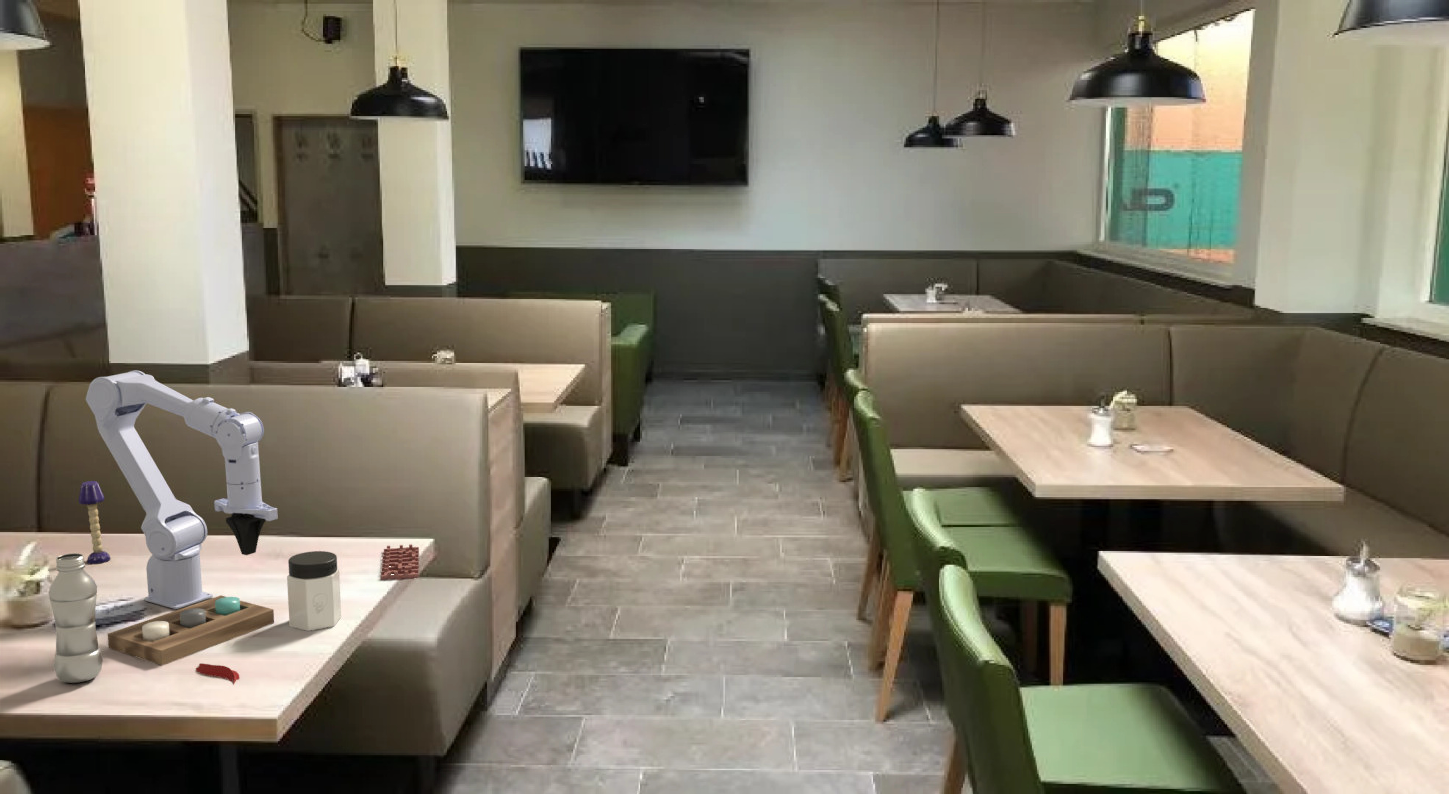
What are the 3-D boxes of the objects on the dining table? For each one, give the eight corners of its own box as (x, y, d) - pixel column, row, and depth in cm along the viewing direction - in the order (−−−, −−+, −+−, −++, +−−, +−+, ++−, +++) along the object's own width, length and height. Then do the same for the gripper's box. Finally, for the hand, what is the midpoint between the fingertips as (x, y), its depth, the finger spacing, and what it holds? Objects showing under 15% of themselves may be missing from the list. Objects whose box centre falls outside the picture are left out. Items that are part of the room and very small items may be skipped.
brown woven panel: (380, 583, 228) (380, 574, 228) (384, 554, 247) (383, 545, 246) (418, 581, 230) (418, 571, 230) (418, 552, 248) (418, 544, 248)
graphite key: (175, 629, 198) (174, 614, 198) (196, 622, 202) (195, 607, 201) (190, 634, 197) (189, 618, 196) (211, 626, 200) (210, 611, 199)
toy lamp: (93, 565, 235) (87, 486, 232) (78, 562, 237) (71, 483, 234) (115, 559, 239) (108, 481, 236) (100, 556, 241) (93, 478, 238)
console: (108, 648, 193) (107, 633, 193) (221, 608, 212) (220, 595, 212) (162, 665, 187) (161, 650, 186) (274, 622, 206) (273, 609, 205)
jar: (295, 634, 200) (292, 568, 198) (284, 620, 207) (280, 555, 205) (347, 624, 205) (344, 560, 203) (335, 610, 212) (332, 548, 210)
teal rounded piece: (211, 617, 204) (210, 602, 204) (230, 610, 208) (229, 595, 207) (226, 621, 203) (225, 606, 202) (245, 614, 206) (244, 599, 206)
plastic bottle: (67, 671, 184) (56, 550, 180) (111, 670, 184) (101, 550, 181) (47, 688, 177) (35, 563, 174) (93, 687, 178) (82, 563, 174)
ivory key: (138, 642, 192) (136, 626, 192) (159, 635, 196) (158, 619, 195) (153, 647, 190) (152, 631, 190) (175, 639, 194) (173, 624, 193)
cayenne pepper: (247, 684, 181) (246, 673, 181) (216, 692, 178) (215, 680, 178) (220, 661, 190) (220, 650, 189) (191, 668, 187) (190, 657, 186)
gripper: (197, 481, 209) (203, 553, 211) (252, 490, 202) (257, 565, 204) (231, 473, 215) (236, 543, 217) (285, 482, 208) (289, 554, 210)
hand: (248, 553), depth 211 cm, fingers closed
